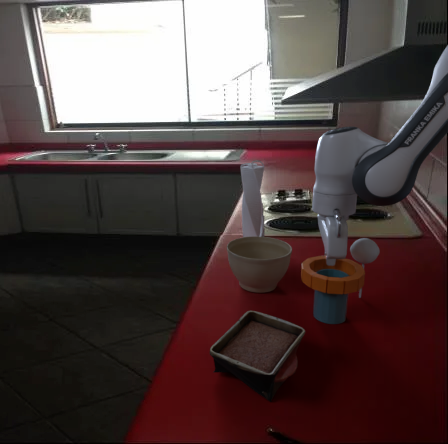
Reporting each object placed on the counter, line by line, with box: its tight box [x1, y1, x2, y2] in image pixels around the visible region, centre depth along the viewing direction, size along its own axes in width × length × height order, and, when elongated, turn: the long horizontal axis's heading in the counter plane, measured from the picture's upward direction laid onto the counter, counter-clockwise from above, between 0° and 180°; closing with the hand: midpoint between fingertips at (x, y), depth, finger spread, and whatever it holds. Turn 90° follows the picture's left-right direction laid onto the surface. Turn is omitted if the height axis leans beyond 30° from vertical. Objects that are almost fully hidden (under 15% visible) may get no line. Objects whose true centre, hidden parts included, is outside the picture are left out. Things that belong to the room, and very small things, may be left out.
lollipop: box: [349, 237, 380, 299], centre depth 98 cm, size 6×6×15 cm
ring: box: [300, 255, 366, 295], centre depth 90 cm, size 12×12×3 cm
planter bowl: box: [226, 236, 293, 294], centre depth 108 cm, size 16×16×11 cm
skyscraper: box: [240, 159, 265, 237], centre depth 134 cm, size 8×8×28 cm
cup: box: [312, 269, 349, 325], centre depth 92 cm, size 7×7×10 cm
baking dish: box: [209, 310, 306, 403], centre depth 76 cm, size 14×18×10 cm
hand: (329, 261), depth 95 cm, fingers closed on ring, 2 cm apart
